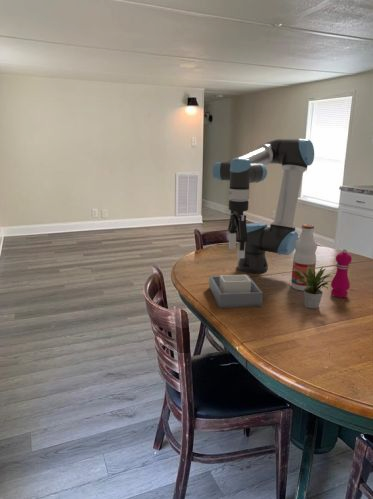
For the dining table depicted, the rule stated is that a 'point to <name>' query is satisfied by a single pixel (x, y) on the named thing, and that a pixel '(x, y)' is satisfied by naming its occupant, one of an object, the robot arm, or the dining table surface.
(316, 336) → the dining table surface
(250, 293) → the slate crate
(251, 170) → the robot arm
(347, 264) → the pepper mill
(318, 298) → the house plant
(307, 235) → the fruit juice
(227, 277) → the white crate
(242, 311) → the dining table surface
